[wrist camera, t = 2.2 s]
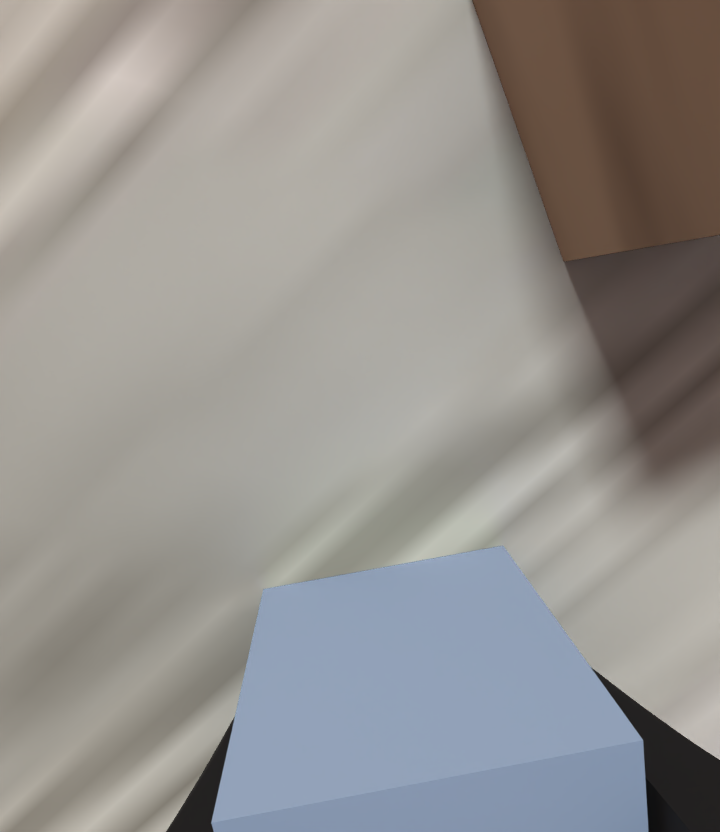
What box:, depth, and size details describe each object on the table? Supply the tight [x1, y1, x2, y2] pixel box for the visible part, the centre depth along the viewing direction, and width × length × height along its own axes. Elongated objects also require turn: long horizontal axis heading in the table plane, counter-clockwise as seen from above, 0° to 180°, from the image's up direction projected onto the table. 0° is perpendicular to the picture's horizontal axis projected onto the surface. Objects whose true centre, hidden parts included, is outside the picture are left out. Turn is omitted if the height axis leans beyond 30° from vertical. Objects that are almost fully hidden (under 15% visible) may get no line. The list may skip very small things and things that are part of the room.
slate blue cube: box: [211, 546, 648, 832], centre depth 9 cm, size 5×5×5 cm
